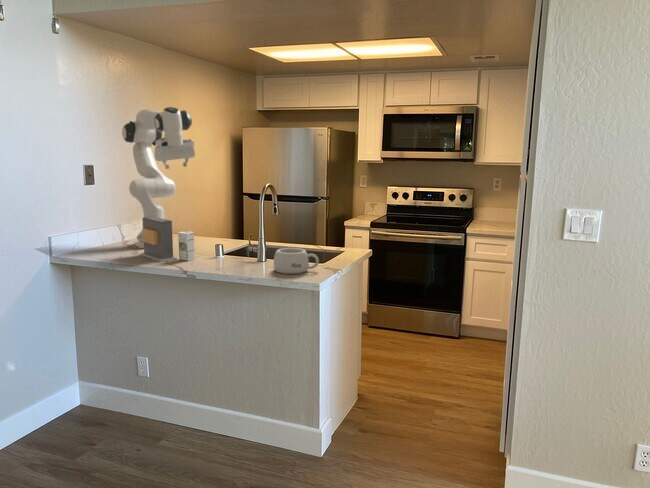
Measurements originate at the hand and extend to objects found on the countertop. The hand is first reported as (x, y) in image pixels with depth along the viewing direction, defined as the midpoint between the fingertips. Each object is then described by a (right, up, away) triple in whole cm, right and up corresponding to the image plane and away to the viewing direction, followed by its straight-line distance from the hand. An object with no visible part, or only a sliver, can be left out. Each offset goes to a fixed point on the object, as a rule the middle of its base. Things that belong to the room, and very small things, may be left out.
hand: (176, 167), depth 271 cm
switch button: (-13, -39, -1) cm, 41 cm away
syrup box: (+6, -48, -2) cm, 48 cm away
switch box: (-10, -46, +3) cm, 48 cm away
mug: (+63, -53, -22) cm, 85 cm away
